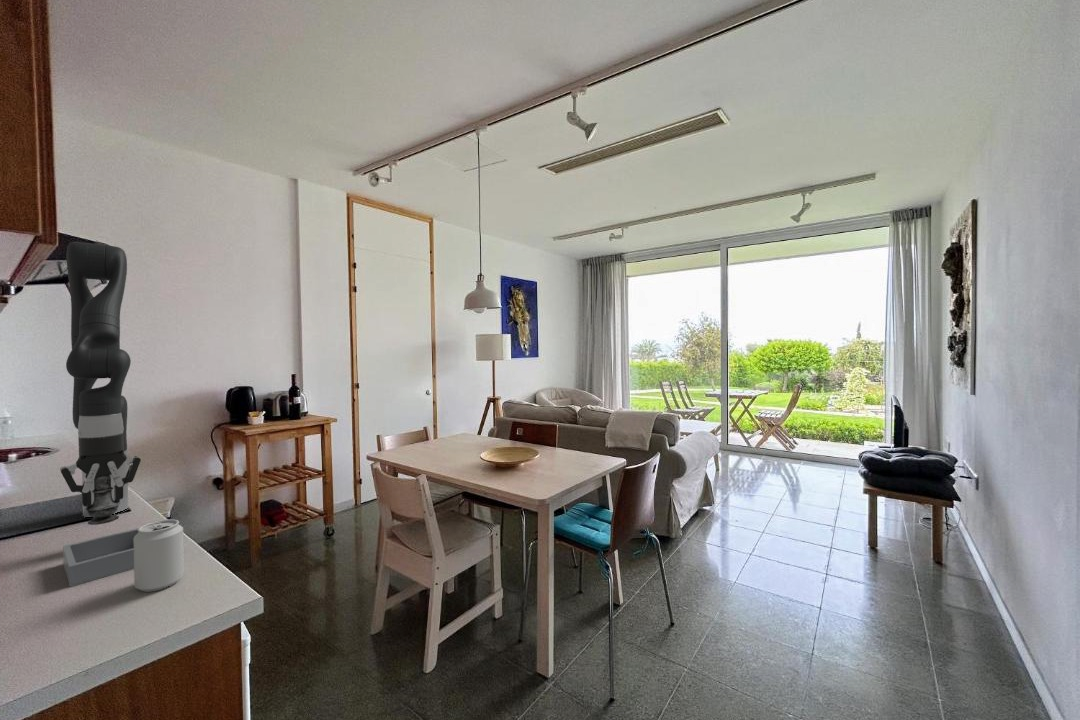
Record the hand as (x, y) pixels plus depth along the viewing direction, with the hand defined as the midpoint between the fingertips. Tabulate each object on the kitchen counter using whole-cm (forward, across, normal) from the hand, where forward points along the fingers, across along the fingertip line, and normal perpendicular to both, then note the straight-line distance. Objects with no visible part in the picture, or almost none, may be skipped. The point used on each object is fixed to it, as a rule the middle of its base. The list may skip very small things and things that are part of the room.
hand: (103, 503), depth 104 cm
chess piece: (+4, 0, 0) cm, 4 cm away
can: (+9, -4, +32) cm, 34 cm away
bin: (+10, 0, +14) cm, 17 cm away
